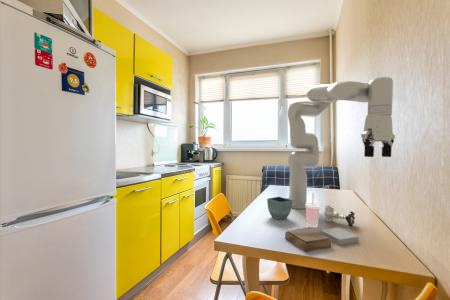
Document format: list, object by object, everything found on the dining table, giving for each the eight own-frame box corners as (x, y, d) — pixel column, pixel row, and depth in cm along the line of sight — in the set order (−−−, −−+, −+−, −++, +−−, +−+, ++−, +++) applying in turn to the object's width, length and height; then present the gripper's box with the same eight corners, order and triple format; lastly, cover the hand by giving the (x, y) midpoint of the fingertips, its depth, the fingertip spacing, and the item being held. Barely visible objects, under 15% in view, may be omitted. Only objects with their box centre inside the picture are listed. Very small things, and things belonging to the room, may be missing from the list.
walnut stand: (285, 238, 82) (285, 230, 82) (308, 234, 86) (308, 226, 86) (305, 251, 72) (305, 242, 72) (331, 246, 76) (331, 238, 76)
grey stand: (320, 235, 86) (320, 230, 86) (337, 232, 89) (338, 227, 89) (339, 245, 77) (340, 239, 77) (358, 241, 80) (358, 236, 80)
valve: (321, 221, 102) (349, 228, 94) (321, 207, 102) (350, 213, 94) (327, 218, 107) (354, 225, 98) (327, 204, 107) (355, 210, 98)
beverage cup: (306, 222, 100) (307, 191, 100) (321, 225, 97) (322, 193, 97) (302, 225, 95) (303, 193, 95) (317, 229, 92) (318, 195, 92)
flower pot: (278, 213, 112) (278, 196, 111) (292, 218, 105) (293, 200, 104) (266, 216, 106) (266, 198, 106) (280, 222, 99) (281, 202, 99)
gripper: (384, 114, 90) (382, 156, 90) (354, 111, 84) (352, 156, 84) (405, 112, 83) (403, 157, 83) (373, 108, 77) (371, 157, 77)
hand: (377, 156), depth 84 cm, fingers open, 9 cm apart
